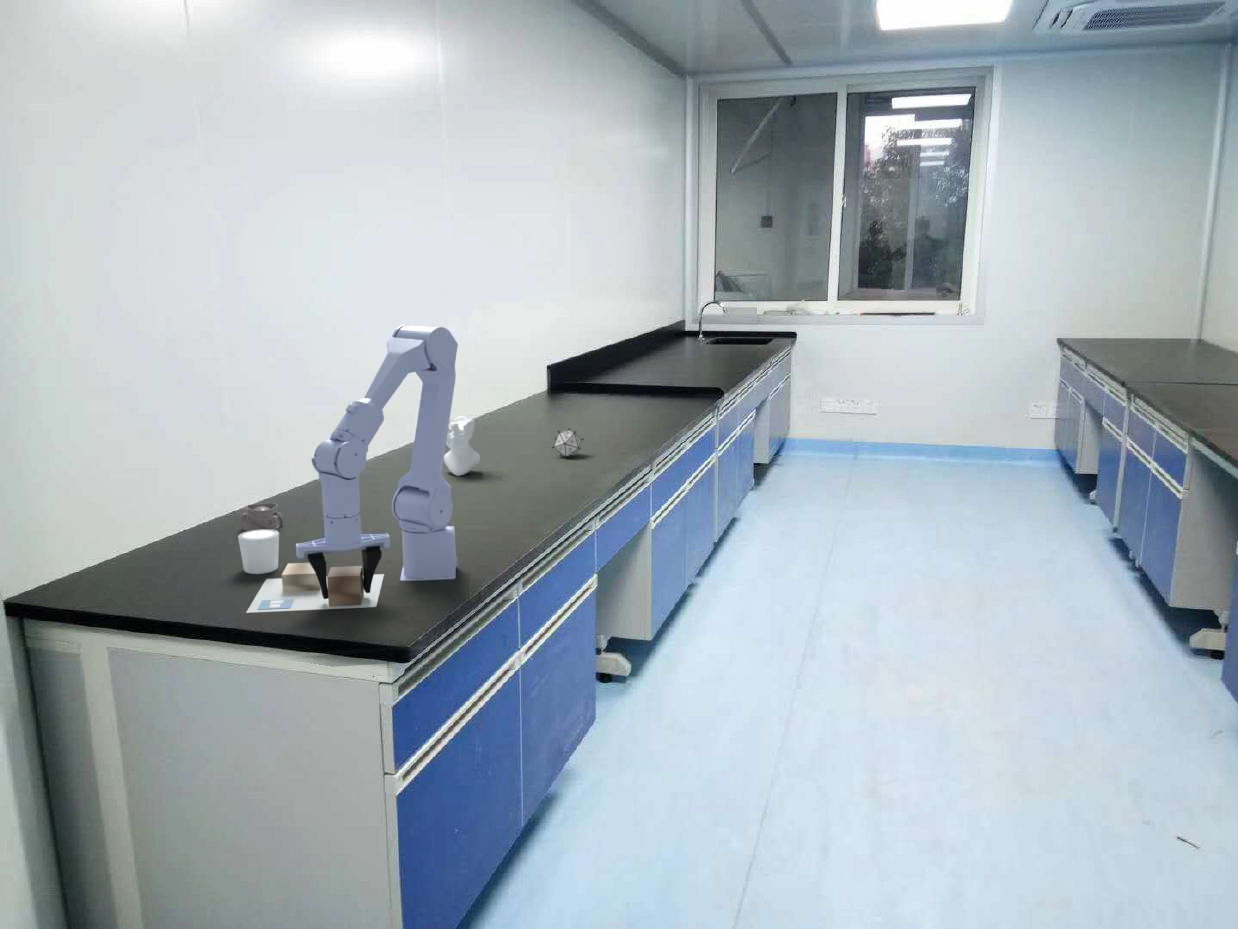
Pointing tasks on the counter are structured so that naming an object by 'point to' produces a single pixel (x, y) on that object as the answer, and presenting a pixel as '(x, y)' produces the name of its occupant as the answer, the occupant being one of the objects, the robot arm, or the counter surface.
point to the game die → (567, 443)
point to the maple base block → (299, 578)
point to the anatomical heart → (460, 446)
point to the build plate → (304, 598)
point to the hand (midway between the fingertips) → (346, 594)
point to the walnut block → (345, 586)
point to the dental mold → (262, 517)
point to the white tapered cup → (259, 550)
